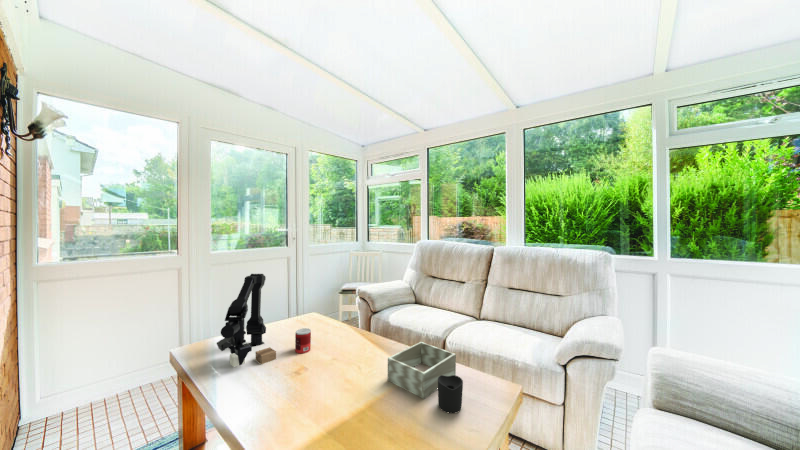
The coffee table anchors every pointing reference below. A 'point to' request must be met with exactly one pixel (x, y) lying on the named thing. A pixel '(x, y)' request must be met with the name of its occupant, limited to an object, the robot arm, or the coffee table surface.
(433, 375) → the toy crate
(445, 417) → the coffee table surface
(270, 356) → the walnut base
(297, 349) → the canned food
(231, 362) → the cream cube
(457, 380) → the pen holder
